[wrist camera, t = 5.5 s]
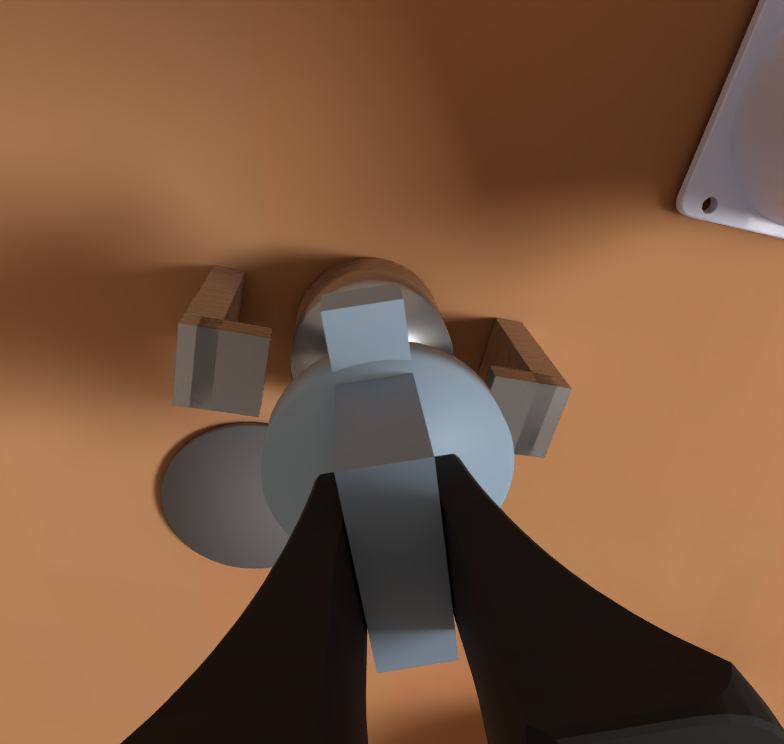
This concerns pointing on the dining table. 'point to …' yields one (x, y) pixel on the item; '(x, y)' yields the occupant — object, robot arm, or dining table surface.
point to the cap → (386, 463)
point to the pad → (223, 498)
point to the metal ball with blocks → (252, 344)
